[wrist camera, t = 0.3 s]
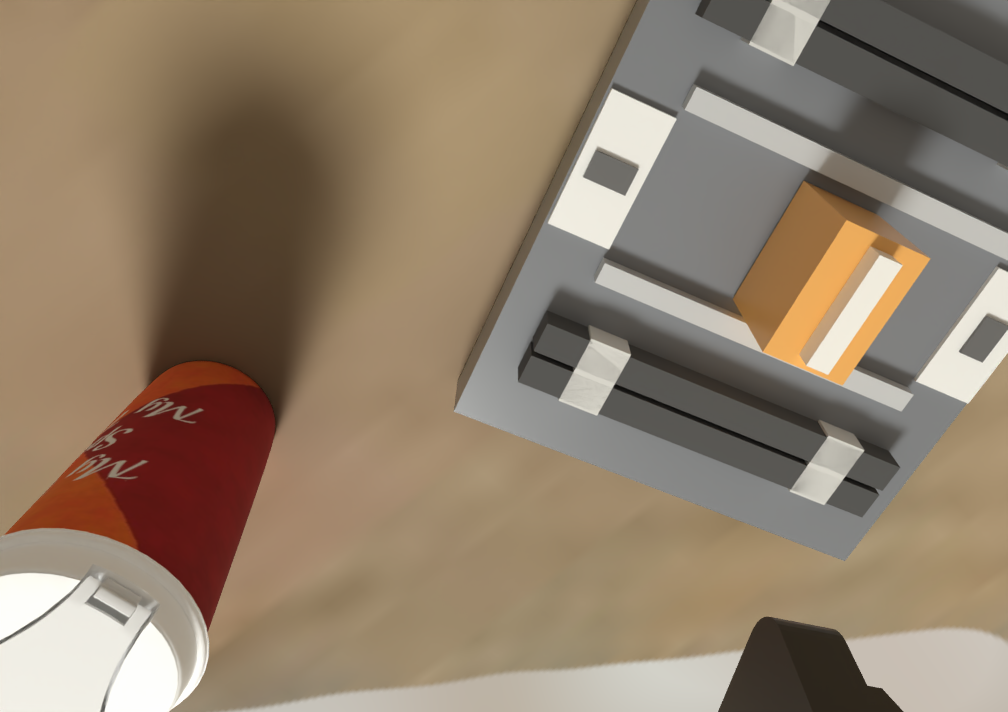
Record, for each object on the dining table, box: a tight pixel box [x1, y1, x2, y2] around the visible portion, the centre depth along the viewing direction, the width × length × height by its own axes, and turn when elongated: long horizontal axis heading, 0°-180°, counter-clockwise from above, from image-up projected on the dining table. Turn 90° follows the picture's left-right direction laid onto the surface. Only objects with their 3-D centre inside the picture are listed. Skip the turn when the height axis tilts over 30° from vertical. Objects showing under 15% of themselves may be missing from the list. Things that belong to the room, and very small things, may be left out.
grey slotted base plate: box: [518, 0, 1008, 517], centre depth 32 cm, size 17×15×4 cm
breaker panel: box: [454, 0, 1008, 561], centre depth 32 cm, size 22×18×3 cm
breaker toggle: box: [733, 181, 931, 386], centre depth 29 cm, size 5×3×5 cm, turn 156°
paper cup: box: [0, 361, 275, 712], centre depth 32 cm, size 8×8×14 cm
